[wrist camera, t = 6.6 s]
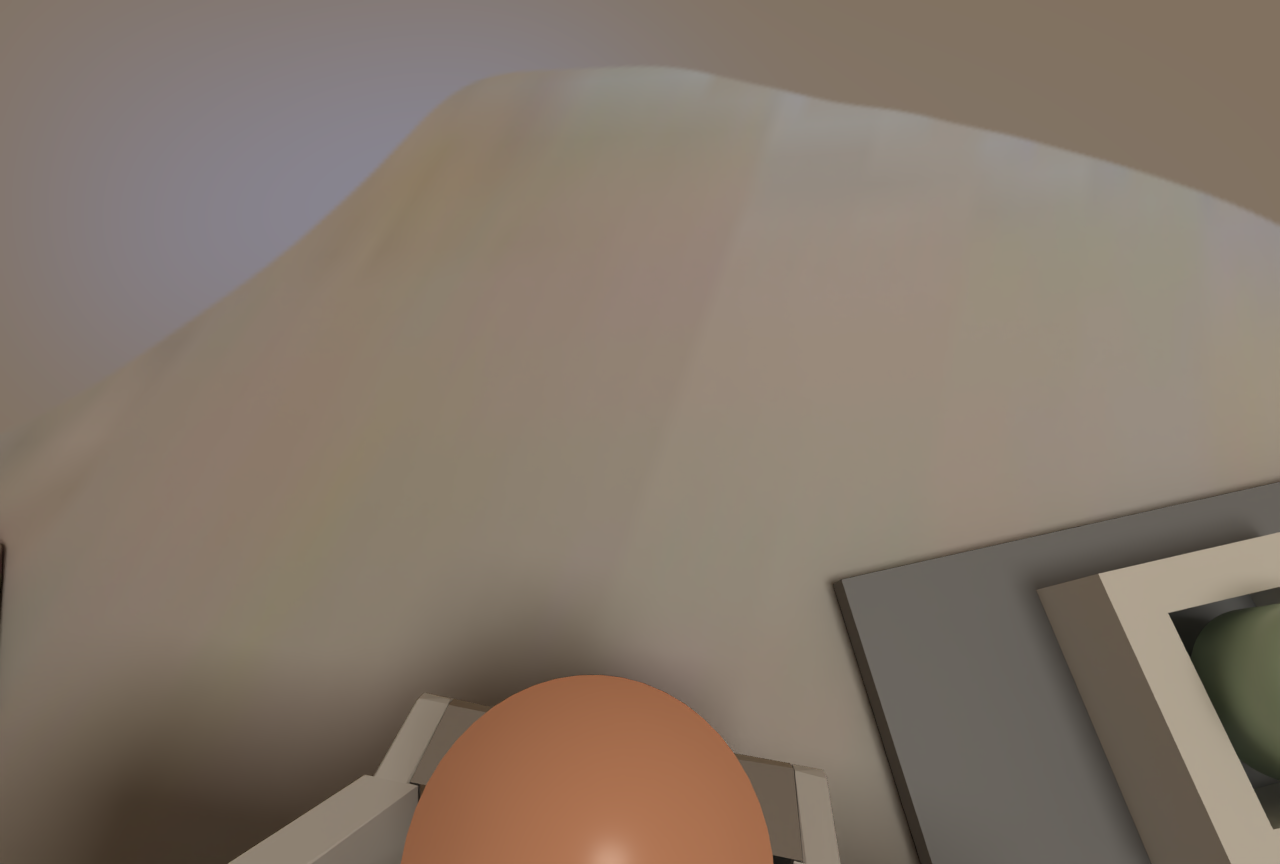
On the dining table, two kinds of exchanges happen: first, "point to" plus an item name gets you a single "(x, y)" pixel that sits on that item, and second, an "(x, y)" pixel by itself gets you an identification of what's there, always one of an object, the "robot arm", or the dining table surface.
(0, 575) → the candy bar box
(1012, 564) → the board
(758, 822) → the marker
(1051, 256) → the dining table surface
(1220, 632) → the button
